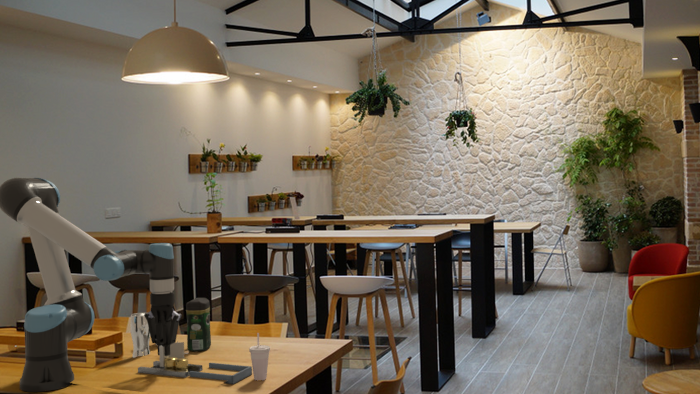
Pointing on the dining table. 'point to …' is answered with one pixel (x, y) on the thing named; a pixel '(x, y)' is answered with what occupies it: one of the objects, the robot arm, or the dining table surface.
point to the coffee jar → (198, 324)
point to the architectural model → (177, 350)
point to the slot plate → (167, 372)
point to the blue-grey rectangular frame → (231, 379)
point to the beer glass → (140, 334)
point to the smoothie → (259, 360)
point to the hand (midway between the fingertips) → (164, 365)
